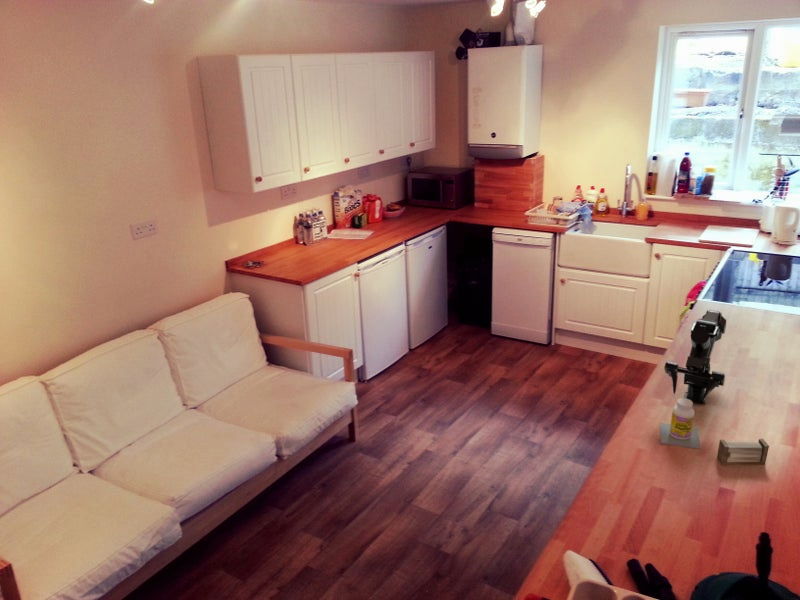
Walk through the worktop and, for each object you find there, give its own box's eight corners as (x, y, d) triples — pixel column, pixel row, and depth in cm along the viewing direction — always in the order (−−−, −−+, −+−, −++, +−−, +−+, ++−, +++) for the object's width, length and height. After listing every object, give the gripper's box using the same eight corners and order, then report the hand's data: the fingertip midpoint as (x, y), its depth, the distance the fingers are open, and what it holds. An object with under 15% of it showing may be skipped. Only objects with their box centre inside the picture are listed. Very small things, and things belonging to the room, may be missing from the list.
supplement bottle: (670, 439, 216) (675, 406, 211) (668, 428, 222) (672, 395, 217) (692, 441, 215) (697, 408, 210) (689, 430, 220) (694, 397, 215)
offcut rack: (716, 458, 207) (719, 439, 204) (759, 457, 206) (763, 438, 204) (721, 465, 203) (725, 446, 201) (765, 464, 203) (769, 446, 200)
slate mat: (660, 423, 226) (660, 422, 225) (698, 429, 222) (698, 428, 222) (660, 443, 215) (660, 442, 215) (700, 449, 211) (700, 448, 211)
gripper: (668, 340, 223) (657, 382, 219) (729, 352, 213) (718, 396, 209) (671, 351, 232) (660, 392, 228) (728, 363, 222) (718, 406, 218)
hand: (688, 396), depth 220 cm, fingers open, 9 cm apart
